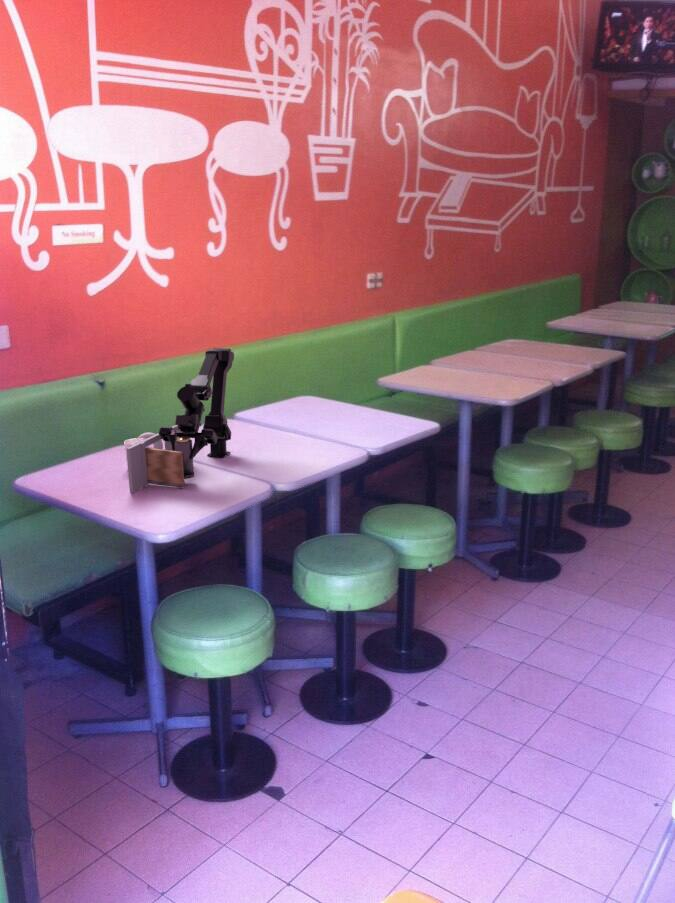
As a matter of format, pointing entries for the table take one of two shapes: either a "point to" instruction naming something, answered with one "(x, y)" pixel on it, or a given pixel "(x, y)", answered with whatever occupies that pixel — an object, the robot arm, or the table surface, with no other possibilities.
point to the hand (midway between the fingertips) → (182, 458)
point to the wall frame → (141, 461)
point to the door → (165, 467)
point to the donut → (156, 445)
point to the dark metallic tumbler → (185, 455)
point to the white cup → (131, 442)
